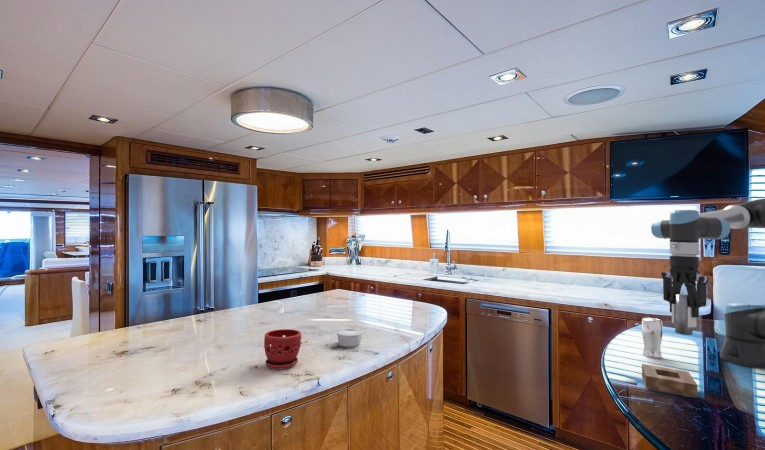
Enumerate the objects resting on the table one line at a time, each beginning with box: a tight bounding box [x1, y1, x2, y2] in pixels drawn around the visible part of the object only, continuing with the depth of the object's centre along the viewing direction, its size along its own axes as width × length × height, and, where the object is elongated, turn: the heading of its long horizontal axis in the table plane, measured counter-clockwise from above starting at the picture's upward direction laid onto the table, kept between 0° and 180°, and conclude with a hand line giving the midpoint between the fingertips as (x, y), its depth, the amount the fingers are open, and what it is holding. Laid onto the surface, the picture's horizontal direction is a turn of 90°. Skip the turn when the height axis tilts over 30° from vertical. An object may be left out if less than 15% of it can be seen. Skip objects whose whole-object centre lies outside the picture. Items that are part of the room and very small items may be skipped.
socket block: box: [641, 363, 698, 399], centre depth 114 cm, size 12×12×4 cm
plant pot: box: [263, 328, 302, 371], centre depth 128 cm, size 13×13×12 cm
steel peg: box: [674, 293, 694, 336], centre depth 116 cm, size 4×4×13 cm
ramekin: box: [336, 328, 363, 348], centre depth 154 cm, size 11×11×5 cm
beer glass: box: [641, 317, 664, 359], centre depth 143 cm, size 7×7×15 cm
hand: (683, 324), depth 116 cm, fingers closed on steel peg, 4 cm apart
